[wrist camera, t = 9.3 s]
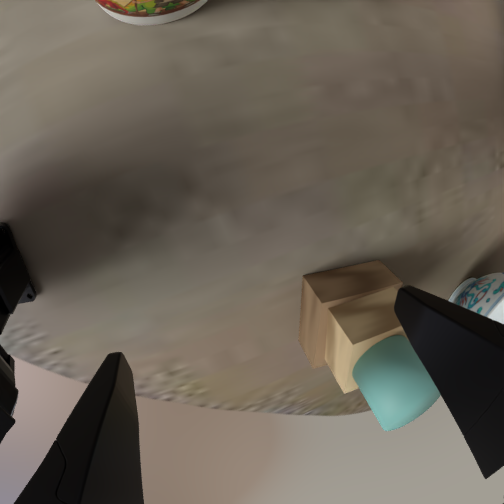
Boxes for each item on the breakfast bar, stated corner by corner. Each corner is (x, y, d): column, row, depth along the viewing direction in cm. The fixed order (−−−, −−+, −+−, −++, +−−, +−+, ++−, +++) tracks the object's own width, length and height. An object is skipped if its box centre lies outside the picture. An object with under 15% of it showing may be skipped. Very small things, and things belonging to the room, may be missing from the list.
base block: (297, 338, 29) (313, 368, 26) (301, 273, 26) (321, 303, 22) (364, 320, 31) (383, 346, 27) (377, 258, 27) (402, 282, 24)
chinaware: (501, 230, 31) (543, 260, 24) (486, 308, 39) (516, 337, 32) (422, 283, 30) (467, 327, 24) (417, 358, 38) (446, 396, 32)
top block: (324, 359, 26) (344, 393, 22) (327, 308, 23) (352, 345, 19) (382, 337, 27) (405, 367, 23) (393, 286, 24) (422, 316, 20)
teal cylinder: (346, 388, 22) (374, 439, 18) (359, 346, 20) (395, 402, 15) (397, 370, 23) (427, 413, 19) (415, 327, 20) (453, 373, 16)
